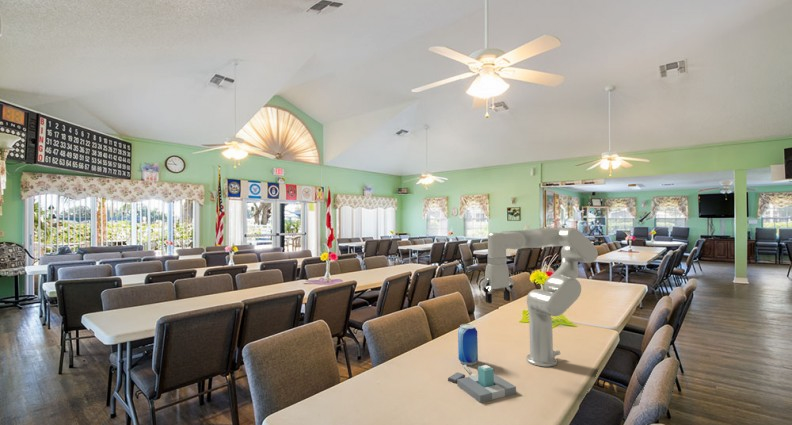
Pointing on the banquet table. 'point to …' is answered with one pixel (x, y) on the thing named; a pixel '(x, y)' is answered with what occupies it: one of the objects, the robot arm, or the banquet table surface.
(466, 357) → the beer can
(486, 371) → the block
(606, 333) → the banquet table surface
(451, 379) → the phone
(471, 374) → the cable
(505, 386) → the socket plate
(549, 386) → the banquet table surface
